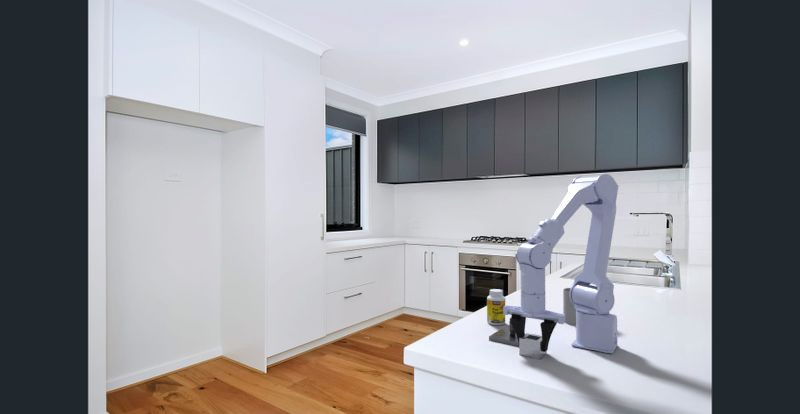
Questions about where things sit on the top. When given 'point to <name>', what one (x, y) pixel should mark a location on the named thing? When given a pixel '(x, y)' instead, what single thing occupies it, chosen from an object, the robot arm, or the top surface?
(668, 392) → the top surface
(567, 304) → the cup
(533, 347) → the square hole block
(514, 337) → the block
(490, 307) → the supplement bottle
